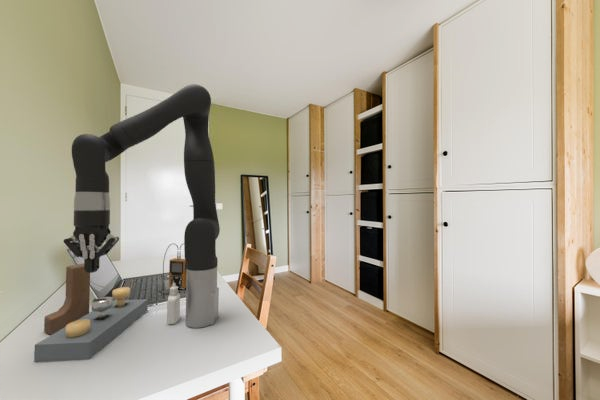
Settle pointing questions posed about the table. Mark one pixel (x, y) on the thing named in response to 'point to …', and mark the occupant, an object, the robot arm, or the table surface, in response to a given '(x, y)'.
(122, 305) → the knob right
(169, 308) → the eye dropper bottle
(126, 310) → the panel
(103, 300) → the dial middle
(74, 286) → the wooden block
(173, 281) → the multimeter
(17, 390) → the table surface
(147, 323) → the table surface
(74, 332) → the knob left
